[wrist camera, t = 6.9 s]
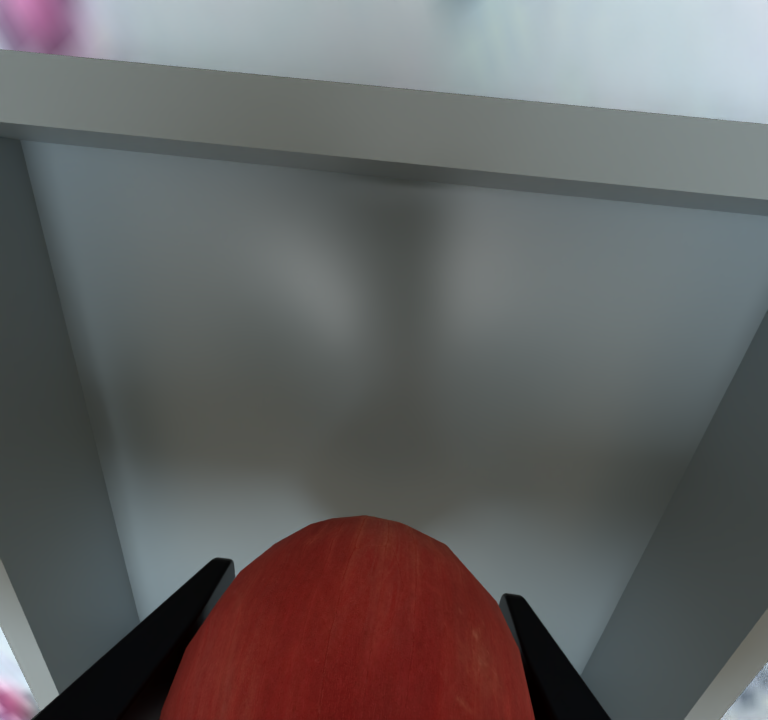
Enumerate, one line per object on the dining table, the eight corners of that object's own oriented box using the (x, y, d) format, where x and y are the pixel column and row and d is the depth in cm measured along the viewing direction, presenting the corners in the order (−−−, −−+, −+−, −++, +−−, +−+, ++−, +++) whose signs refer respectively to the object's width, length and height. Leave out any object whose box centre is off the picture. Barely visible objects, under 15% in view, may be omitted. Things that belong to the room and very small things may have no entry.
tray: (823, 184, 8) (1175, 164, 4) (578, 672, 15) (633, 823, 11) (18, 103, 8) (-290, 21, 5) (142, 617, 15) (58, 748, 12)
